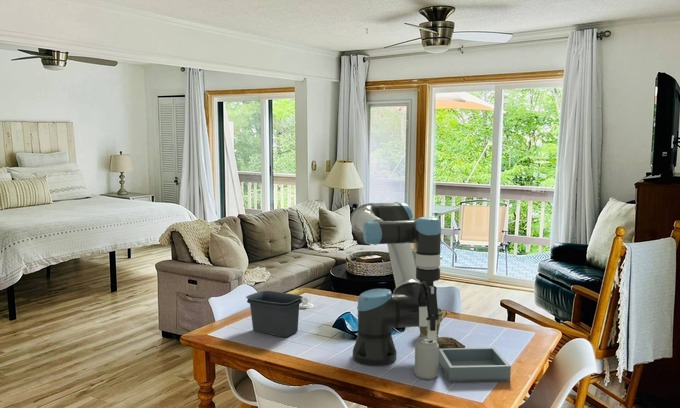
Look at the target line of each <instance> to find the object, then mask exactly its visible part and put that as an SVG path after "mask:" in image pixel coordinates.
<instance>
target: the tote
mask: <svg viewBox="0 0 680 408" xmlns="http://www.w3.org/2000/svg"><path fill="white" fill-rule="evenodd" d="M511 367H512V366H511V365H510V364H509V362H507V360H506V359H505V358H504V357H503V356H502V355H501V354H500V353H499V351H498V349H496V348H495V347H465V348H447V349H439V368H440V369H441V370H442V373H443V374H444V376H445V378H447V381H448V383H449V384H466V383H467V384H470V383H472V384H475V383H511V371H512V370H511V369H512V368H511Z"/></svg>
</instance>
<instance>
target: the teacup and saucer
mask: <svg viewBox="0 0 680 408" xmlns="http://www.w3.org/2000/svg"><path fill="white" fill-rule="evenodd" d="M301 300H302V303H301V304H299V309H310V308H314V304H313V303H309V297H307V296H303V298H302V299H301Z"/></svg>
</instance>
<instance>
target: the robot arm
mask: <svg viewBox="0 0 680 408" xmlns="http://www.w3.org/2000/svg"><path fill="white" fill-rule="evenodd" d="M349 221H350V225H351V227H352V228H353V229H354V230H355V232H358V233H360V234H361V233H362V237H363V241H364V243H365V244H366V245H375V246H376V245H377V246H378V245H387V250H388V254H389V258H390V259H389V260H390V265H391V269H392V273H393V278H394V283H395V284H394V285H395V288H394V290H393V293H392V291H391V289H388V288H372V289H368V290H365V291H364V292H361V293H360V294H359V295H358V299H357V306H356V310H357V337H356V339H355V342H354V346H353V349H352V360H354V361H355V362H356V363H359V364H361V365H364V366H365V365H366V366H377V367H378V366H386V365H389V364H392V363H394V362H395V361H396V360H397V349H396V346H395V343H394V339H393V338H392V337H393V336H392V329H396V328H398V329H399V328H416V327H417V328H419V327H422V326H427V340H428V341H437V338H438V336H437V320H438V319H439V317H438V308H439V305H438V296H437V292H438V291H437V289H438V288H437V286H435V285H434V282H436V281H437V282H438V281H439V280H440V279H441V268H440V266H441V260H442V259H443V257H442V256H441V246H442V245H441V237H442V236H441V235H442V226H441V225H442V224H441V220H440V218H439V217H435V216H422V217H418V218H413V212H412V209H411V208H410V206H409V204H407V203H406V202H398V201H396V202H377V203H375V202H369V203H365V204H362V205H359V206H358V207H356V208H355V209H354V210H353V211H352V213H351V214H350V218H349ZM411 244H415V250H416V266H418V267H417V268H416V266H415V262H414V258H413V254H412V250H411V249H412V246H411ZM419 280H420V282H419Z"/></svg>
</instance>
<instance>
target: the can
mask: <svg viewBox="0 0 680 408" xmlns="http://www.w3.org/2000/svg"><path fill="white" fill-rule="evenodd" d="M416 340H417V341H416V342H415V343H414V374H415V375H416V376H417V377H418V378H419V379H422V380H434V379H435V378H436V377H438V376H439V374H440V373H439V368H440V365H439V344H438V343H437V341H428V340H427V337H423V336H420V337H418V338H417V339H416Z"/></svg>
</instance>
